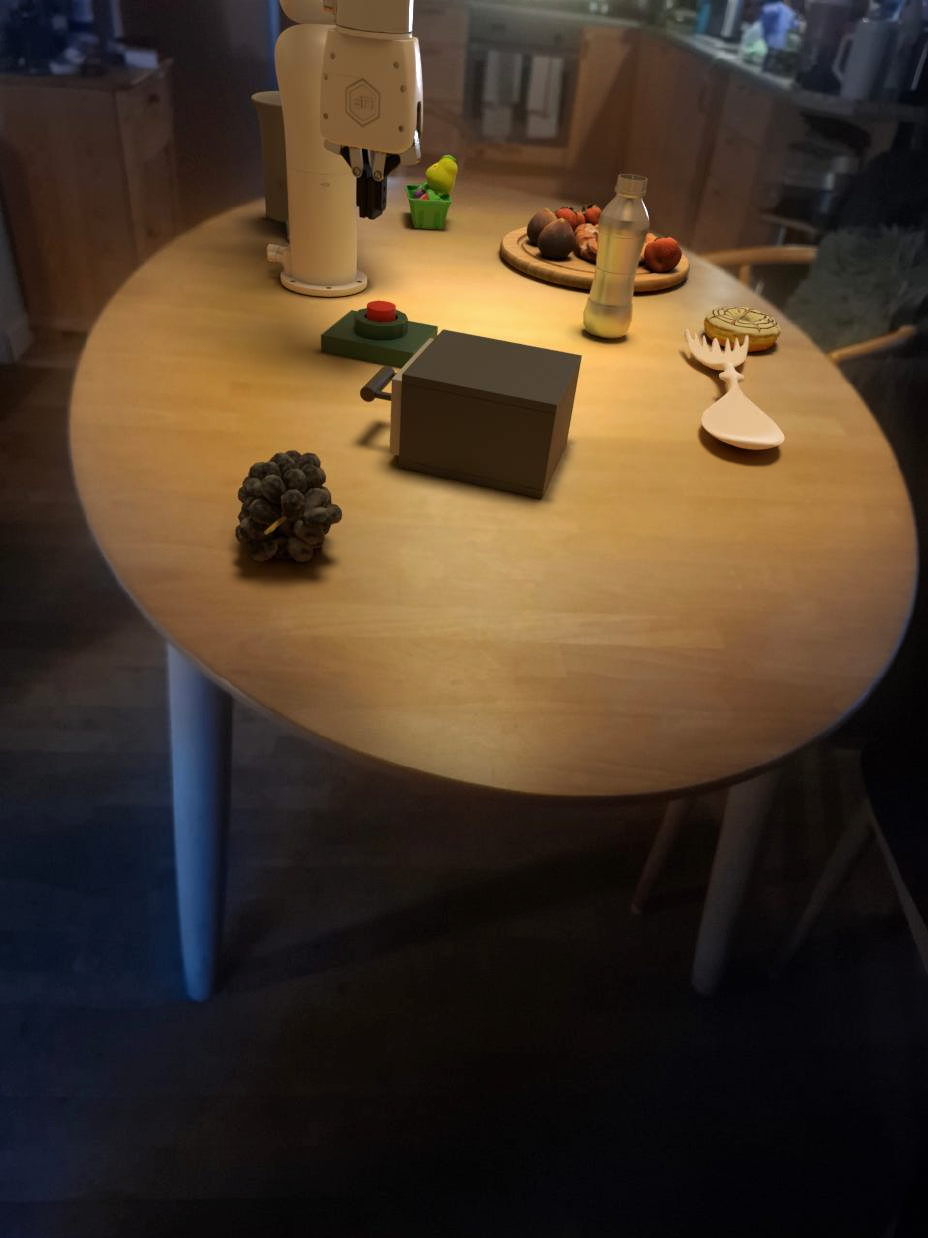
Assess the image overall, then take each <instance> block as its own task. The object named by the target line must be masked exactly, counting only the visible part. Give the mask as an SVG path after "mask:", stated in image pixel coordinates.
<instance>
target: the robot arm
mask: <svg viewBox="0 0 928 1238" xmlns="http://www.w3.org/2000/svg"><path fill="white" fill-rule="evenodd" d="M414 2H415V0H279V4H280V7H281V9H282V11H283V12H284V15H285V16H286V17H287V18H288V19H290V20H291V21H293V22H295V23H298V24H295V25H291V26H289V27H287V28H285V29H284V30H283V31H282V32H281V33H280V34H279V36H278V37H277V40H276V42H275V46H274V68H275V74H276V81H277V86H278V91H279V92H280V98H281V104H282V111H283V118H284V129H285V143H286V164H287V187H288V210H289V234H290V242H289V245H287V247H286V246H282V245H279V244H274V243H269V244H268V245H267V247H266V258H267V261H268V262H270V263H276V264H277V263H278V264H281V265H282V266H283V270H281V272H280V283H281V285H282V286H284V287H285V288H286V289H288V290H290V291H292V292H295V293H298V294H302V295H307V296H313V297H325V298H326V297H330V298H331V297H334V298H335V297H345V296H351V295H355V294H358V293H360V292H362V291H363V290H365V289H366V288H367V286H368V276H367V274H366V273H365V272H364V271H362V270H361V269H358V216H359V218H361V219H366V218H367V219H368V220H370V221H374V220H376V219H377V218H379V217H380V216H382V215H383V213H384V211H385V210H386V208H387V203H388V202H387V199H388V197H387V196H388V177H390V176H391V175H392V173H393V172H394V171H395V170H397V168H398V167H404V166H413V165H417V164H418V163H420V162H421V161H422V151H421V146H420V143H421V140H422V137H423V128H424V127H423V126H424V83H423V71H422V70H423V69H422V60H421V59H422V57H421V51H420V50H421V49H420V43H419V38H418V37H416V36H413V29H414V28H413V24H414ZM371 151H375V154H374V159H373V166H372V157H371Z"/></svg>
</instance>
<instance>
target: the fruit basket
mask: <svg viewBox="0 0 928 1238" xmlns="http://www.w3.org/2000/svg"><path fill="white" fill-rule="evenodd" d="M456 161H457V159H456V158H455V157H453V156H452V155H451V154H445V155H443V156H442V157H440V160H439V161H438V162H436V163H434V164H432V165H431V166H429V167H428V168H427V169H426V171H425V176H426V180H427V181H426V182H424V181H422V182H421V184H405V190H406V195H407V199H408V204H409V210H410V215H411V220H412V224H413V228H414V229H424V230H443V229H444V226H445V223H446V218H447V215H448V212H449V209H450V207H451V204H452V201H453V200H452V198H451V195H450V193H452V191H453V190H454V188H455V185H456V178H457V174H458V171H459V170H458V169H459V168H458V164H457V163H456Z"/></svg>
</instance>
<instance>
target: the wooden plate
mask: <svg viewBox="0 0 928 1238" xmlns="http://www.w3.org/2000/svg"><path fill="white" fill-rule="evenodd" d="M601 213H602V209H601V208H600V207H599V206H597V204H593V203H588V204H585V205H583V206H582V207H581V210H579V209H577V208H574V207H573V206H572V207H571V206H570V207H568V206H563V205H562V206H561V207H560V208H559V209H557V210H555V211H551V210H550V209H549V208H548V207H545V208H543V209H541V210H539V211H538V212H536V213H535V214H534V215H533V216H532V217H531V219H530V220H529V221H528V224H527V226H524V227H520V228H516V229H514V230H512V231H510V232H508V233H506V235H504V236H503V237H502V239H501V241H500V244H499V251H500V255H501V257H502V258H503V259H504V260H505V262H506V263H508V264H509V265H510V266H511V267H513V268H515V269H517V270H519V271H520V272H522V273H525V274H527V275H530V276H531V277H535V278H538V279H540V280H542V281H547V282H550V283H553V284H558V285H562V286H567V287H573V288H577V289H578V288H579V289H585V290H591V287H592V282H593V278H594V274H595V267H596V264H597V262H596V258H597V250H598V222H599V217H600V215H601ZM678 243H679V241H678V240H677V239H674V238H673V237H670V236H668V235H667V236H665V237H663V236H656V235H655V234H654V233H648V234H647V237H646V240H645V243H644V246H643V249H642V252H641V255H640V259H639V263H638V267H637V269H636V270H637V272H636V276H635V282H634V291H633V293H637V292H652V291H659V290H665V289H667V288H671V287H674V286H677V285H678V284H680V283H681V282H683V281H684V280H685V279H686V278H687V277H688V275H689V273H690V269H691V268H690V267H691V265H690V261H689V259H688V258H687V256H686V255H685V254H684V253H683V252H682V251H683V250H682V249H681V247H680V245H679V244H678Z"/></svg>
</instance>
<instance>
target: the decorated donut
mask: <svg viewBox="0 0 928 1238" xmlns="http://www.w3.org/2000/svg"><path fill="white" fill-rule="evenodd" d="M703 329H704V333H705V334H706V336H707V337H708V339H710V341H712V342H713V340H714V339H715V338H716V339H717V340H718V342H719V345H720V347H724V348H725V344H726V339H727V338H728V339H729V343H730V348H731V351H733V350H734V344H735V339H736V337H737V339H738V341H739V345H740V347H741V346H743V343H744V339H745V336H746V335H748V338H749V347H748V351H747V353H752V352H759V351H765V350H767V349H769V348H770V347H772V346H773V345H774V344H775V343H776V341H777V340H778V338H780V335H781V334H782V329H781V326H780V323H779V322H778V321H777V320H776V319H775V318H774V317H773V316H771V315H770V314H767V313H764V312H762V311H761V310H758V309H754V308H753V307H748V306H721V307H718V308H714V309H711V310H709V311H708V312H707V313H706V314H705V318H704V320H703Z"/></svg>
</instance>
